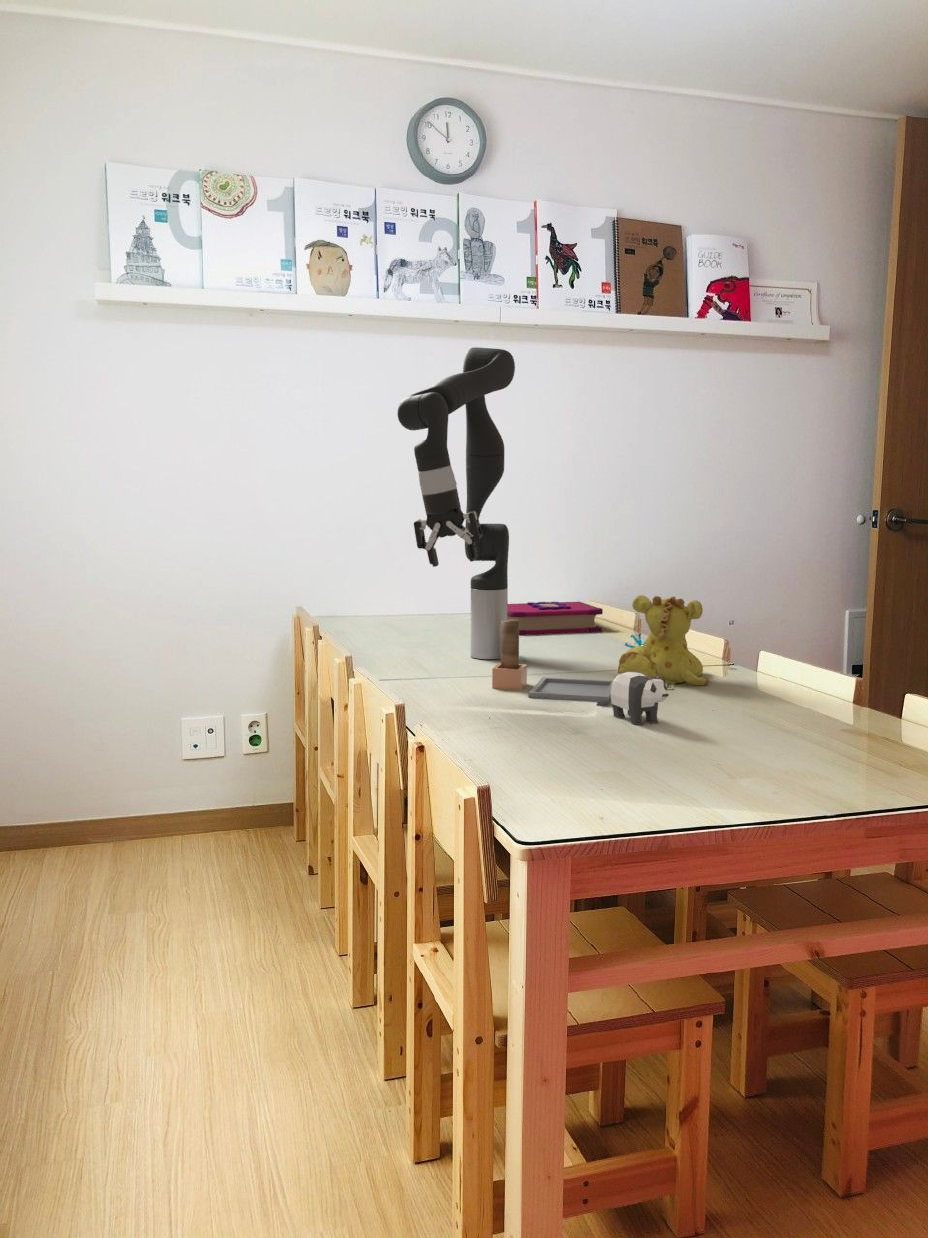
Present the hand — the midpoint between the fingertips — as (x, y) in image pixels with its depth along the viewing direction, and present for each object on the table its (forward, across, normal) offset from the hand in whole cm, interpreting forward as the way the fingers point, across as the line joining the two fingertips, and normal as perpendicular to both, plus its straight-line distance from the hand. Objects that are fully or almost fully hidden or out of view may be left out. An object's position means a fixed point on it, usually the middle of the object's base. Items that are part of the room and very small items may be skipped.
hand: (454, 563), depth 218 cm
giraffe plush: (+36, +38, +16) cm, 54 cm away
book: (+39, -4, +79) cm, 88 cm away
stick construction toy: (+38, +31, +36) cm, 61 cm away
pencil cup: (+28, +9, -6) cm, 30 cm away
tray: (+30, +23, -8) cm, 38 cm away
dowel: (+27, +9, -6) cm, 29 cm away
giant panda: (+30, +38, -26) cm, 55 cm away
